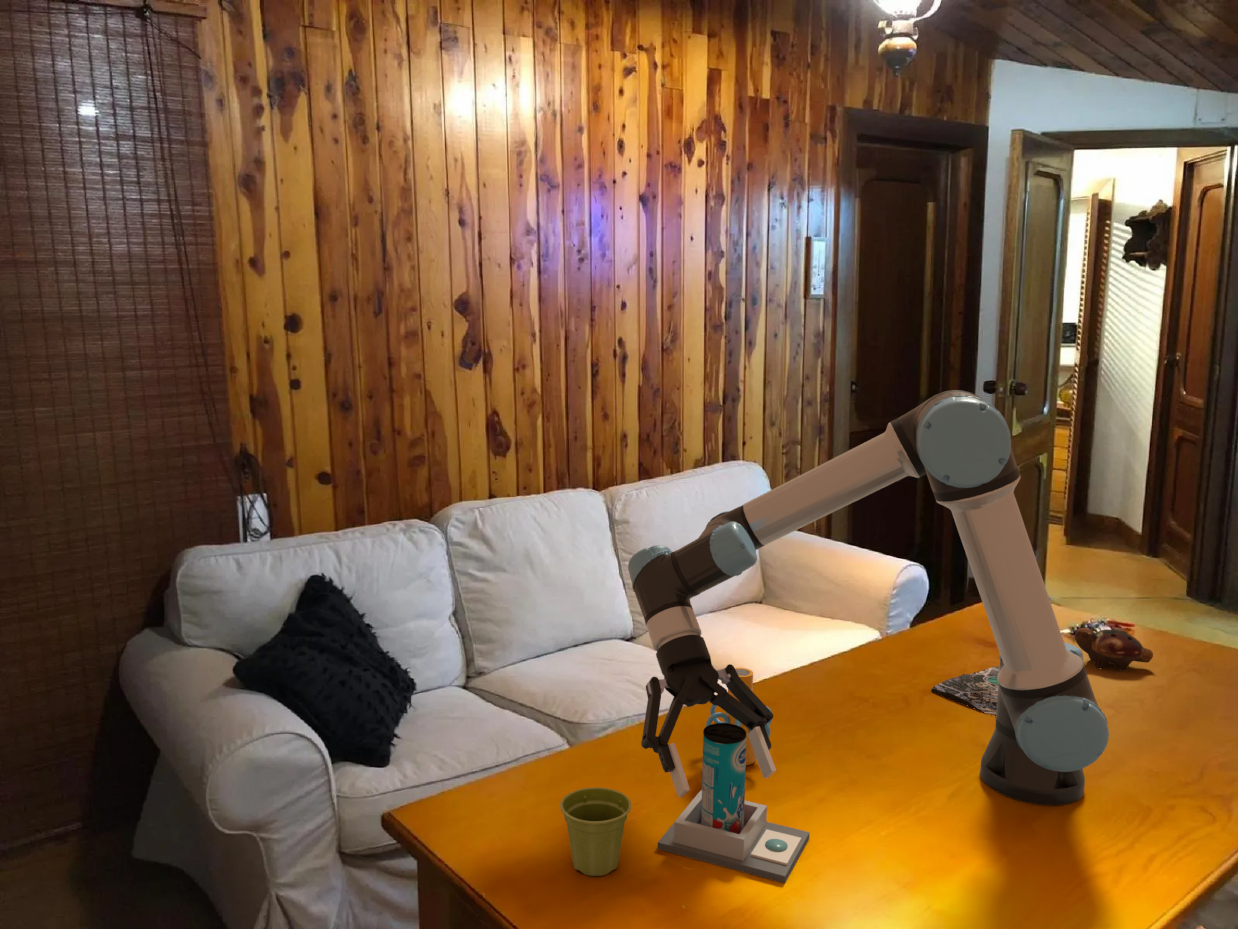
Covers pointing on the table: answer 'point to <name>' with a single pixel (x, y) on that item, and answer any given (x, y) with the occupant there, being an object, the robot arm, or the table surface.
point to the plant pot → (595, 828)
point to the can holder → (737, 842)
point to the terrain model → (973, 690)
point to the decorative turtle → (1112, 648)
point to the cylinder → (747, 678)
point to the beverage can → (723, 777)
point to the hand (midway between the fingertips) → (728, 784)
